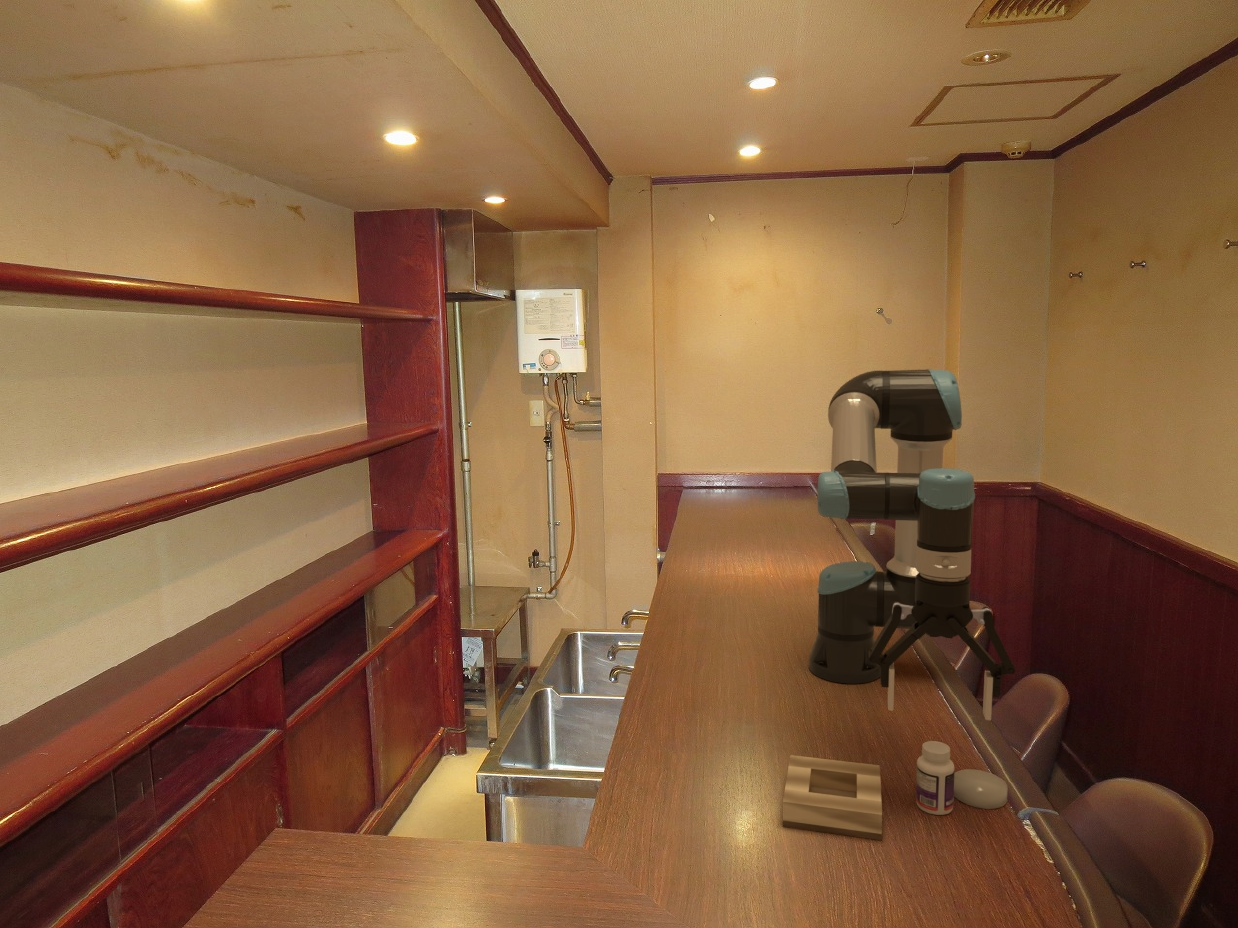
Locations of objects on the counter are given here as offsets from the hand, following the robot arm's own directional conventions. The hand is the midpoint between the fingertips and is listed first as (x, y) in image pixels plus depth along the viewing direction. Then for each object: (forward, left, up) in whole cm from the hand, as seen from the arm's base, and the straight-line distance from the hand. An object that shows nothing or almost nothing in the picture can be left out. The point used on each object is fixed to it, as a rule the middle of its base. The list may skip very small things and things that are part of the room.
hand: (937, 711), depth 123 cm
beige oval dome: (-5, +7, -16) cm, 18 cm away
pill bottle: (0, 0, -16) cm, 16 cm away
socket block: (+4, -15, -16) cm, 22 cm away
